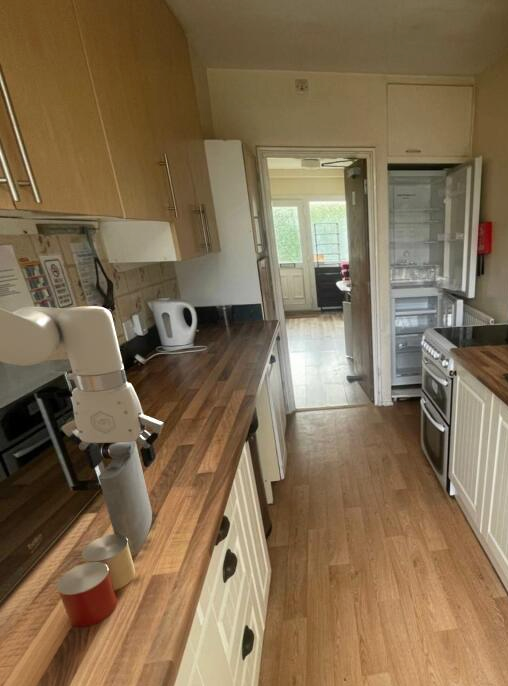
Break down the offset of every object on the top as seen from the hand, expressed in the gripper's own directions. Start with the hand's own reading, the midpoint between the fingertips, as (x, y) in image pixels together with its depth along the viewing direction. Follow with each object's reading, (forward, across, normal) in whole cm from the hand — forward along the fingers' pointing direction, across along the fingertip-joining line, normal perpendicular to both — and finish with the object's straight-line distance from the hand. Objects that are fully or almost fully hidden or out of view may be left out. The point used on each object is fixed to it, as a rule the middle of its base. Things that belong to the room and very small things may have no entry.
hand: (123, 464), depth 82 cm
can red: (+16, +1, -20) cm, 26 cm away
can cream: (+16, +1, -13) cm, 21 cm away
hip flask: (+16, 0, 0) cm, 16 cm away
